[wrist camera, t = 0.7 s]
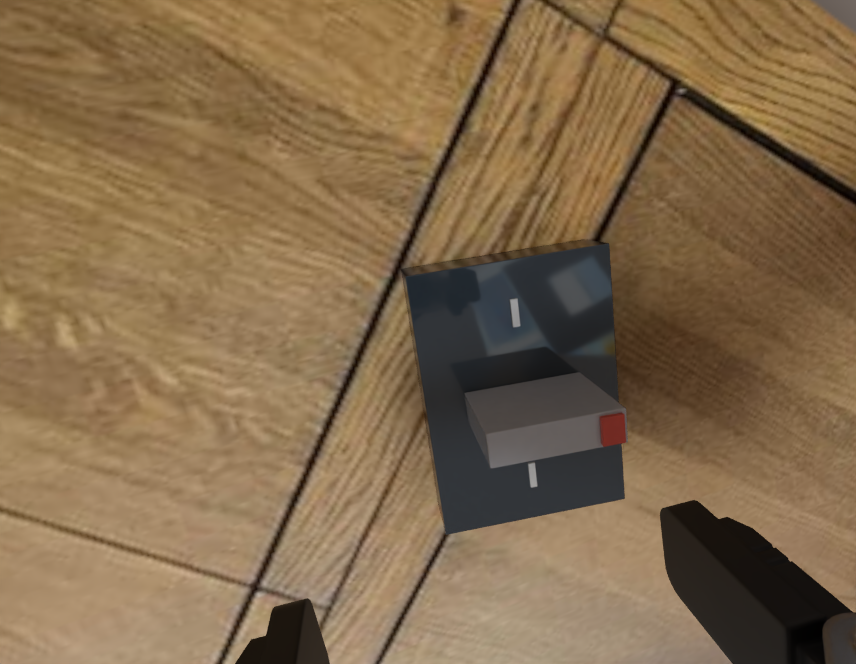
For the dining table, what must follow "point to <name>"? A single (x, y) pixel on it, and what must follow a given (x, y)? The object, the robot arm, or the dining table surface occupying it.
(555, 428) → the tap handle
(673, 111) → the dining table surface
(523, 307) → the lever base
